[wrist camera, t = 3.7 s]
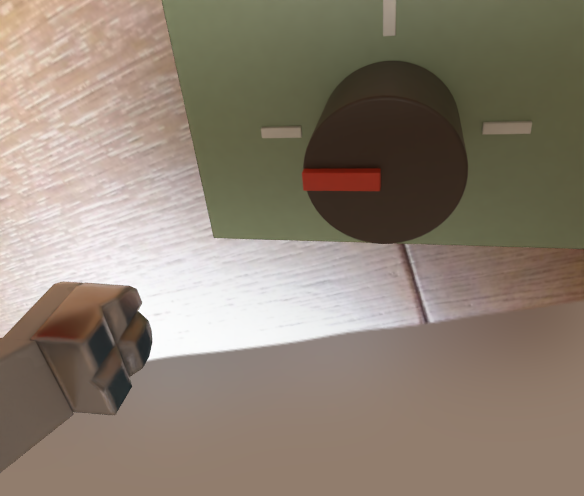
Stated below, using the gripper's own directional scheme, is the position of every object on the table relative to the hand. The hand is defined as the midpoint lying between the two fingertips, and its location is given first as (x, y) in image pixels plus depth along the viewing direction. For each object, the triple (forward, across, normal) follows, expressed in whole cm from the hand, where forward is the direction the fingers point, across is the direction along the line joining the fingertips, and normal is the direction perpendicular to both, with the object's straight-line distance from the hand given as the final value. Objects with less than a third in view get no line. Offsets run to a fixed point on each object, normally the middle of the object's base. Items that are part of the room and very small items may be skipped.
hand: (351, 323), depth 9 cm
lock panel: (+12, 0, 0) cm, 12 cm away
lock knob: (+9, 0, 0) cm, 9 cm away
